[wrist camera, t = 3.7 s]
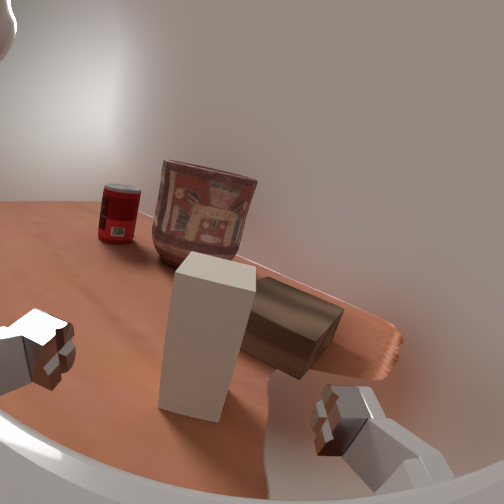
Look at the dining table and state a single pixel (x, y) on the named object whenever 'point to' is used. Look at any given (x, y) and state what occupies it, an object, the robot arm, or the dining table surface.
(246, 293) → the cream block
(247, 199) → the pottery
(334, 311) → the walnut block
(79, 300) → the dining table surface
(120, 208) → the canned food
